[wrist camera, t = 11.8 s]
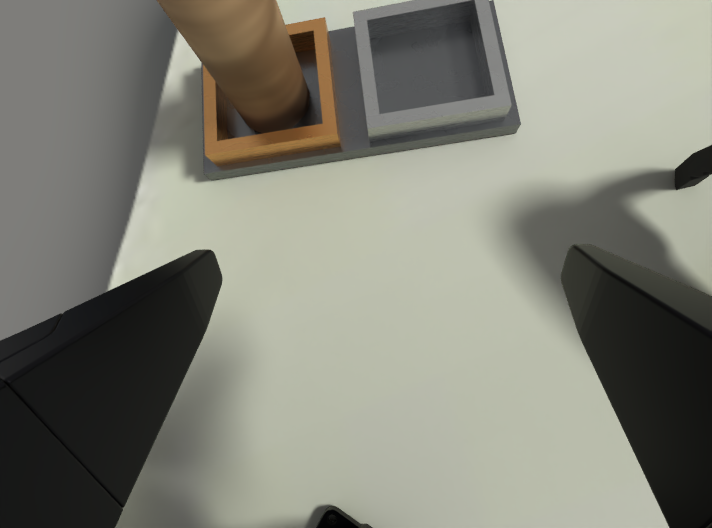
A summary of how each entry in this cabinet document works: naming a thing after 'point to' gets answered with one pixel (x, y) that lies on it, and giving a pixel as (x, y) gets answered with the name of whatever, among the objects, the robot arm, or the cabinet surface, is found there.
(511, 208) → the cabinet surface
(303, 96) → the post
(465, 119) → the tray
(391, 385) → the cabinet surface
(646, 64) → the cabinet surface
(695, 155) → the gun
